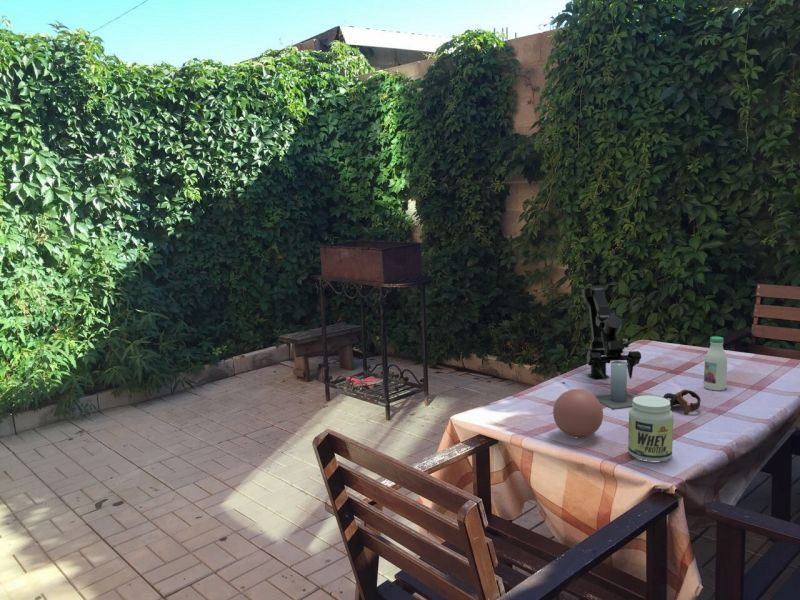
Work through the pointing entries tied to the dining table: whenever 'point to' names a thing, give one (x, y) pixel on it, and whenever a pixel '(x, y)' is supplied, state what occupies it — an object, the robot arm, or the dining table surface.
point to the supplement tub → (650, 428)
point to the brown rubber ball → (578, 413)
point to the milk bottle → (715, 365)
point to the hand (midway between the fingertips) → (618, 378)
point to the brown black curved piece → (678, 400)
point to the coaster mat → (615, 405)
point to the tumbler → (618, 381)
